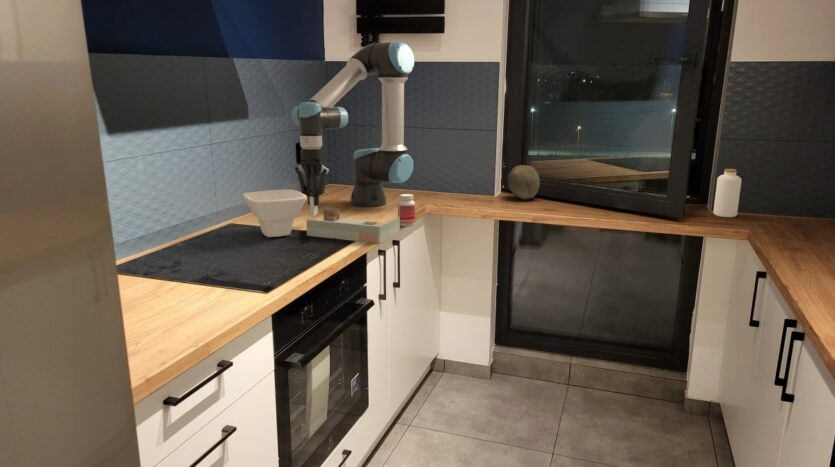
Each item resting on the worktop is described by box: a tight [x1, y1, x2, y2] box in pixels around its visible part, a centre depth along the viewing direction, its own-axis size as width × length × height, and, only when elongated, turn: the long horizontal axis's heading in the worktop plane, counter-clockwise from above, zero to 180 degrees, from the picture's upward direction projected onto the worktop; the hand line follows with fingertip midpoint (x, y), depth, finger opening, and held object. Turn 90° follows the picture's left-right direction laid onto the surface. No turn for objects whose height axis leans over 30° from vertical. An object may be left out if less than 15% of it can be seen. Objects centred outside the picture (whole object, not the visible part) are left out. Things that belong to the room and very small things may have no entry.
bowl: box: [242, 188, 307, 238], centre depth 209 cm, size 19×19×14 cm
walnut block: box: [323, 206, 340, 222], centre depth 220 cm, size 4×4×4 cm
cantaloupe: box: [507, 164, 541, 201], centre depth 273 cm, size 14×14×15 cm
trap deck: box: [306, 216, 401, 244], centre depth 213 cm, size 16×27×6 cm, turn 68°
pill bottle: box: [397, 193, 416, 228], centre depth 225 cm, size 6×6×11 cm
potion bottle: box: [713, 168, 742, 218], centre depth 241 cm, size 8×8×18 cm
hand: (313, 214), depth 223 cm, fingers closed
